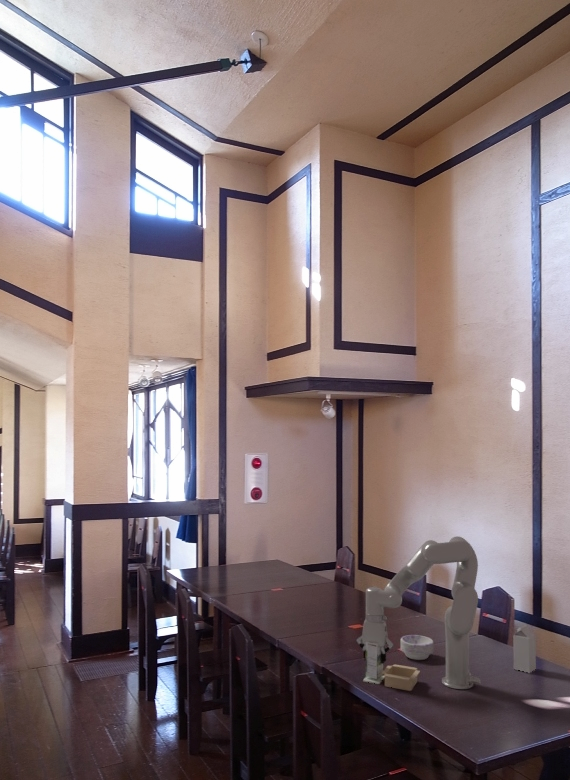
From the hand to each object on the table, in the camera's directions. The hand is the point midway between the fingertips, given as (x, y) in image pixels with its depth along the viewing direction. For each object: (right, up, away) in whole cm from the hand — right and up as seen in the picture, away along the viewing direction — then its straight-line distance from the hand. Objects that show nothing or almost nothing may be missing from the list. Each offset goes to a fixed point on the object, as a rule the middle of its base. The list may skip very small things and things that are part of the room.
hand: (374, 660), depth 267 cm
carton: (+10, -7, -6) cm, 14 cm away
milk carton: (+69, -10, +13) cm, 71 cm away
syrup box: (0, -6, -1) cm, 6 cm away
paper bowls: (+24, -11, +29) cm, 39 cm away
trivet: (0, -8, -1) cm, 8 cm away
